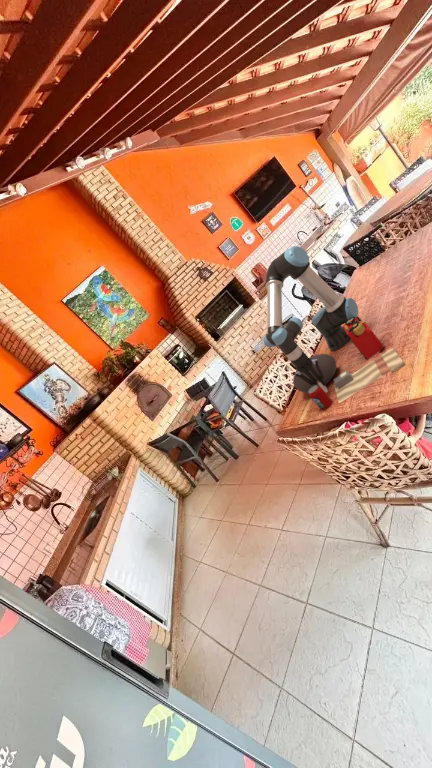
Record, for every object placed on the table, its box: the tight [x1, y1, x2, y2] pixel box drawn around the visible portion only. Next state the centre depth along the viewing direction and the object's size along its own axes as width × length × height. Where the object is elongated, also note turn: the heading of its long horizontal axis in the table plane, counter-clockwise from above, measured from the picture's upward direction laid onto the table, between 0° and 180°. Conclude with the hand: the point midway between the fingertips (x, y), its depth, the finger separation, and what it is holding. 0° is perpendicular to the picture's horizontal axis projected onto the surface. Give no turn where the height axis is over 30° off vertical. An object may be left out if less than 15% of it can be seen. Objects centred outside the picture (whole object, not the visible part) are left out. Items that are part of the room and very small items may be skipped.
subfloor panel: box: [333, 347, 406, 404], centre depth 177 cm, size 18×32×1 cm, turn 77°
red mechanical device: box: [342, 315, 385, 361], centre depth 190 cm, size 16×10×20 cm, turn 168°
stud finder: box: [333, 369, 354, 389], centre depth 185 cm, size 5×8×4 cm, turn 77°
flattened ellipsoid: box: [292, 353, 337, 393], centre depth 203 cm, size 25×25×15 cm
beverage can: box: [307, 385, 334, 411], centre depth 180 cm, size 7×7×12 cm
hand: (326, 391), depth 189 cm, fingers closed
